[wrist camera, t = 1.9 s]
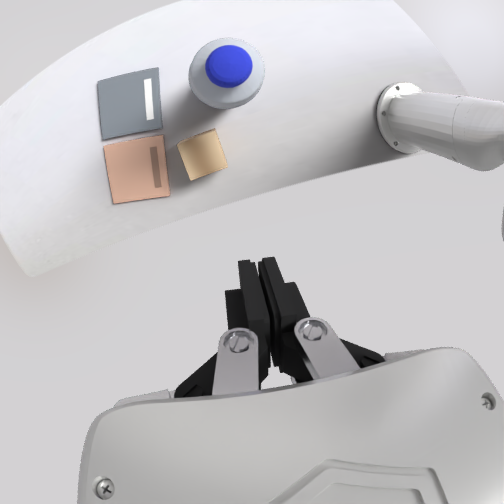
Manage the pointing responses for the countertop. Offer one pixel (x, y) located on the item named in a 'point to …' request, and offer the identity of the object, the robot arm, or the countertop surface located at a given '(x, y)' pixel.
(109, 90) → the slate mat
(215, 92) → the bottle
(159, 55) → the countertop surface
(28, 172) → the countertop surface
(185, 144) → the oak block
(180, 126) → the countertop surface
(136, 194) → the terracotta tile
